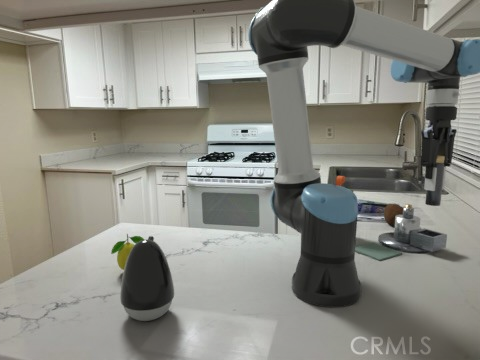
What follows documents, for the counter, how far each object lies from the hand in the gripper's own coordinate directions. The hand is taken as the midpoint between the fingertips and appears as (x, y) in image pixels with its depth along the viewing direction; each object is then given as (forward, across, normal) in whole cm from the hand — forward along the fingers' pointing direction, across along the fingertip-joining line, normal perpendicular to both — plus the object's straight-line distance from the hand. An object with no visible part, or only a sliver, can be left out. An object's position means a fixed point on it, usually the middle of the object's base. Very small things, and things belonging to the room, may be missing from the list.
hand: (433, 189), depth 102 cm
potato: (+19, +14, +21) cm, 32 cm away
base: (+18, 0, +7) cm, 20 cm away
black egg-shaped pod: (+19, -81, +8) cm, 84 cm away
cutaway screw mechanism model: (+19, -14, +23) cm, 33 cm away
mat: (+18, -14, +7) cm, 24 cm away
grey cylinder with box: (+17, 0, +4) cm, 18 cm away
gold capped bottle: (+4, 0, 0) cm, 4 cm away
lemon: (+18, -79, +30) cm, 87 cm away
